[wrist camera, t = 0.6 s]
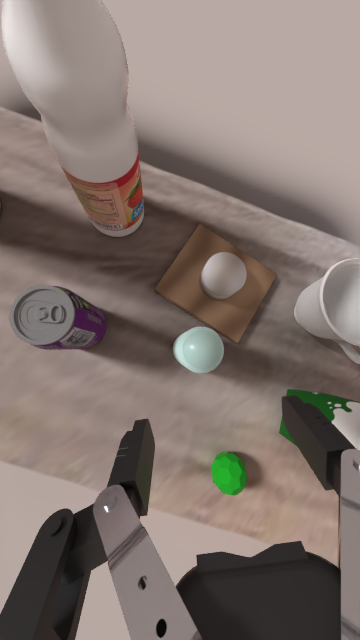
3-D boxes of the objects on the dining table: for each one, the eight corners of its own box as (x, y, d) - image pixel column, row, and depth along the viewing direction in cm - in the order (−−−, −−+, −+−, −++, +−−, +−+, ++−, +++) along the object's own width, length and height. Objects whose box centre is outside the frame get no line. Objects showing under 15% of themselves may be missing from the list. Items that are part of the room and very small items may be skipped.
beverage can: (106, 303, 33) (78, 279, 22) (108, 347, 33) (79, 347, 21) (60, 305, 33) (5, 281, 21) (60, 350, 32) (2, 352, 20)
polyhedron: (229, 487, 32) (242, 511, 27) (202, 471, 32) (209, 493, 27) (244, 455, 32) (258, 473, 28) (217, 440, 32) (227, 456, 28)
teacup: (293, 371, 35) (345, 380, 25) (268, 288, 37) (309, 266, 27) (353, 354, 37) (425, 356, 27) (327, 275, 38) (386, 250, 28)
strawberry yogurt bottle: (83, 194, 36) (-182, -340, 8) (136, 184, 37) (69, -308, 9) (97, 244, 35) (-147, -165, 7) (151, 231, 36) (126, -156, 8)
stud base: (154, 291, 34) (153, 280, 29) (198, 228, 37) (204, 207, 31) (234, 343, 35) (248, 342, 29) (272, 277, 37) (291, 265, 32)
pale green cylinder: (166, 354, 33) (169, 357, 23) (183, 326, 34) (195, 316, 24) (194, 372, 33) (210, 383, 23) (210, 344, 34) (234, 342, 24)
